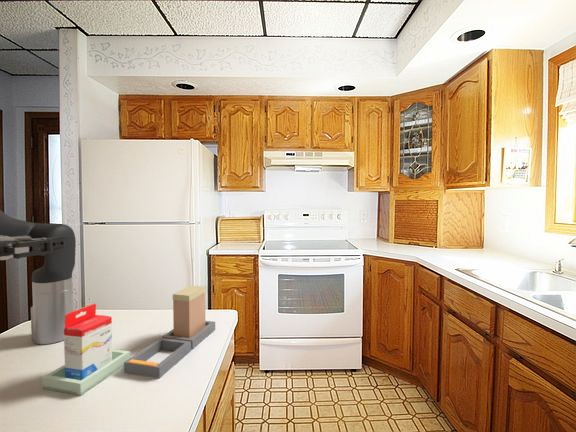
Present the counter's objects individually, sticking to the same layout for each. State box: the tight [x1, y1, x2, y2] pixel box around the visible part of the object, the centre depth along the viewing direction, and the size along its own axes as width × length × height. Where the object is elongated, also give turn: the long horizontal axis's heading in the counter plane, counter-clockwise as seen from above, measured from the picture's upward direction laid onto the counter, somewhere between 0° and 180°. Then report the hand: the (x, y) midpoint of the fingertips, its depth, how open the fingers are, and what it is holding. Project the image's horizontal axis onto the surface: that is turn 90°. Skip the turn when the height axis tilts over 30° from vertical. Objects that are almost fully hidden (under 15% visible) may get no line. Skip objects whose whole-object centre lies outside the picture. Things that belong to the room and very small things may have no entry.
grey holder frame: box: [123, 320, 216, 379], centre depth 84 cm, size 9×27×3 cm, turn 167°
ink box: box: [63, 303, 113, 380], centre depth 71 cm, size 8×5×15 cm, turn 167°
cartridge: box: [172, 285, 207, 338], centre depth 91 cm, size 5×9×14 cm, turn 167°
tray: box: [41, 348, 131, 396], centre depth 71 cm, size 10×14×2 cm
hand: (47, 241), depth 61 cm, fingers open, 8 cm apart
